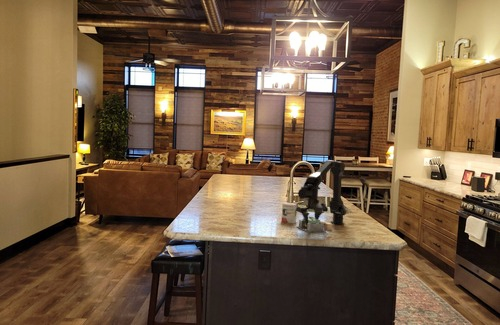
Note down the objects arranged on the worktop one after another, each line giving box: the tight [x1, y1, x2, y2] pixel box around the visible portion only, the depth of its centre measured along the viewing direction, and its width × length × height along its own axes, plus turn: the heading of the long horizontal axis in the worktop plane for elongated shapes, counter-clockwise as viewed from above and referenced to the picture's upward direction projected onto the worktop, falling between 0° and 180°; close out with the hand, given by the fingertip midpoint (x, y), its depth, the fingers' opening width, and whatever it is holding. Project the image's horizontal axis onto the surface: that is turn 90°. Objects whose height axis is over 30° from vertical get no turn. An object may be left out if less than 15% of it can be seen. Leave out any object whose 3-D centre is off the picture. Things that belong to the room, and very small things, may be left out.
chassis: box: [296, 218, 326, 234], centre depth 220 cm, size 14×11×5 cm
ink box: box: [280, 202, 298, 224], centre depth 238 cm, size 9×5×12 cm, turn 68°
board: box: [302, 215, 321, 224], centre depth 220 cm, size 9×6×2 cm, turn 24°
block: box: [320, 220, 333, 231], centre depth 226 cm, size 8×3×4 cm, turn 24°
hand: (311, 223), depth 220 cm, fingers closed on board, 6 cm apart
